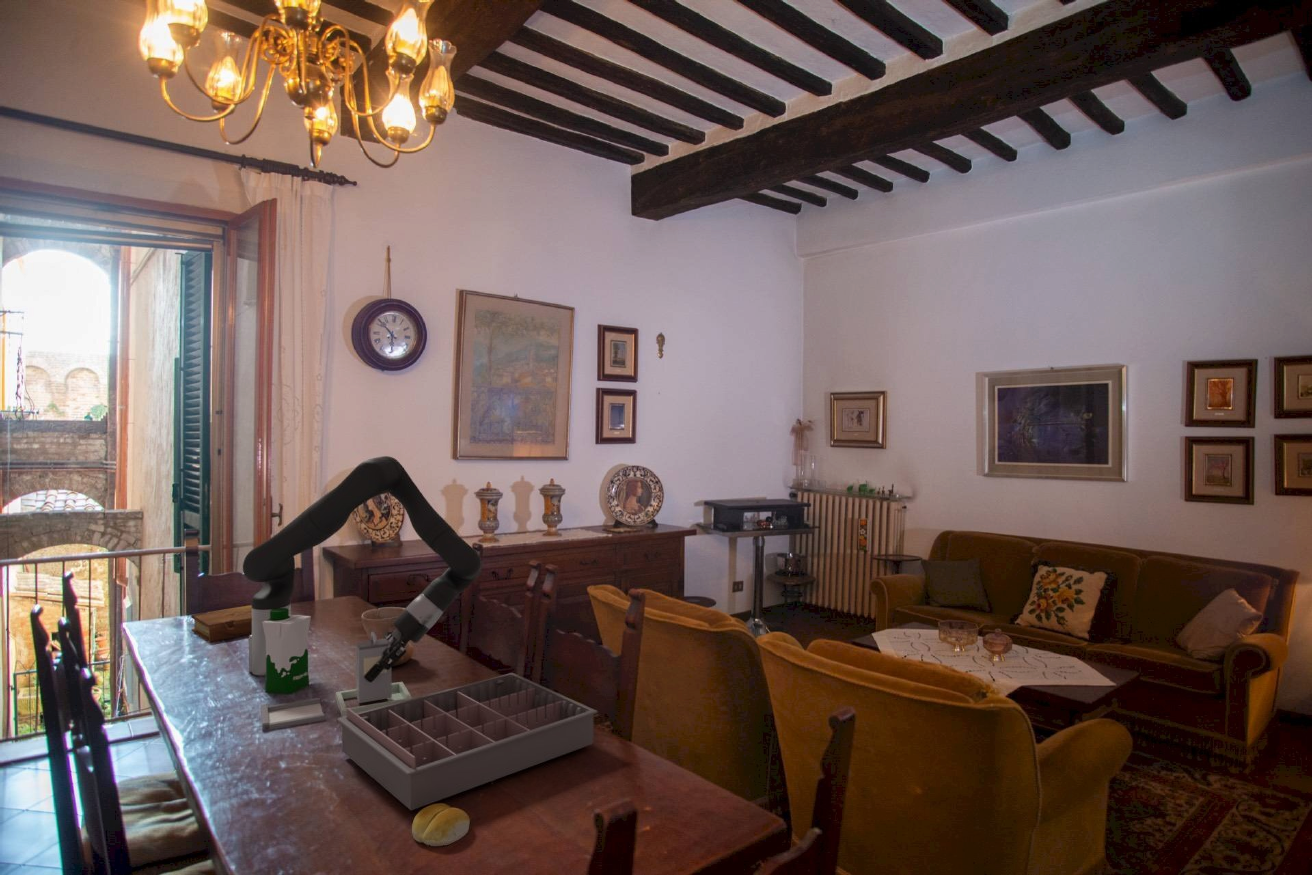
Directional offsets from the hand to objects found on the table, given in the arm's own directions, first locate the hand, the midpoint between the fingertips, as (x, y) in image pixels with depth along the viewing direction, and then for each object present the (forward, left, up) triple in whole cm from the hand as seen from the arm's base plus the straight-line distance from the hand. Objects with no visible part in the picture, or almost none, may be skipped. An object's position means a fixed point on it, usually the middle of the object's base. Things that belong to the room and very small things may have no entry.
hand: (365, 675), depth 172 cm
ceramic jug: (-15, +28, -8) cm, 33 cm away
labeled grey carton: (+1, +1, -5) cm, 5 cm away
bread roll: (+46, -42, -8) cm, 62 cm away
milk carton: (-25, +3, -8) cm, 26 cm away
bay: (-11, -11, -7) cm, 17 cm away
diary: (-81, +45, -8) cm, 93 cm away
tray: (+1, +1, -7) cm, 7 cm away
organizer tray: (+35, -15, -8) cm, 39 cm away
